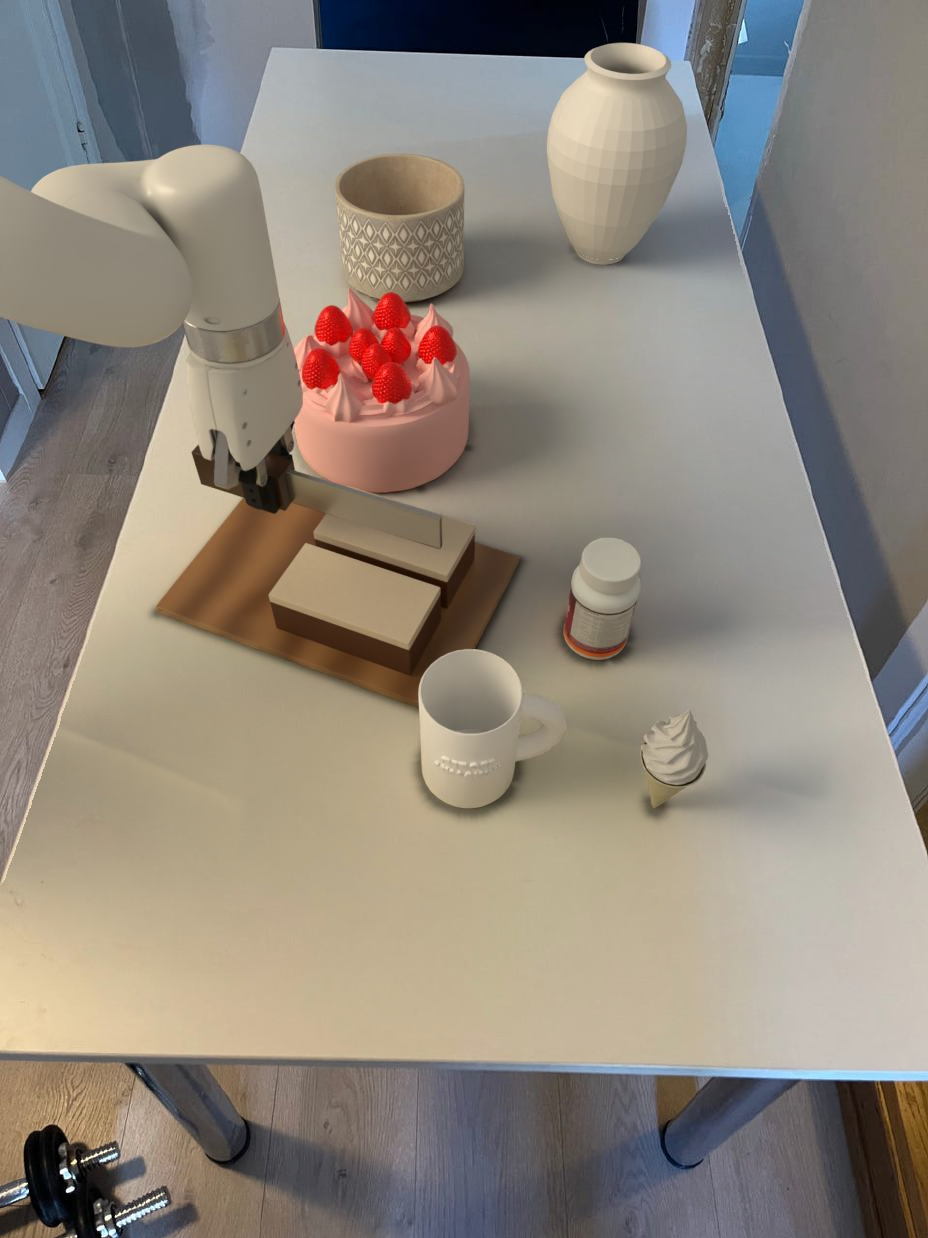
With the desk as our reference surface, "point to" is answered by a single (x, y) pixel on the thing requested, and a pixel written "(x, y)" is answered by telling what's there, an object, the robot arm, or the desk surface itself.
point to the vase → (615, 149)
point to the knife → (337, 501)
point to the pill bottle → (602, 599)
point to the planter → (401, 225)
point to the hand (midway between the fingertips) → (272, 494)
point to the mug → (478, 727)
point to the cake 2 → (405, 550)
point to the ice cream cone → (673, 757)
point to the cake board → (258, 557)
